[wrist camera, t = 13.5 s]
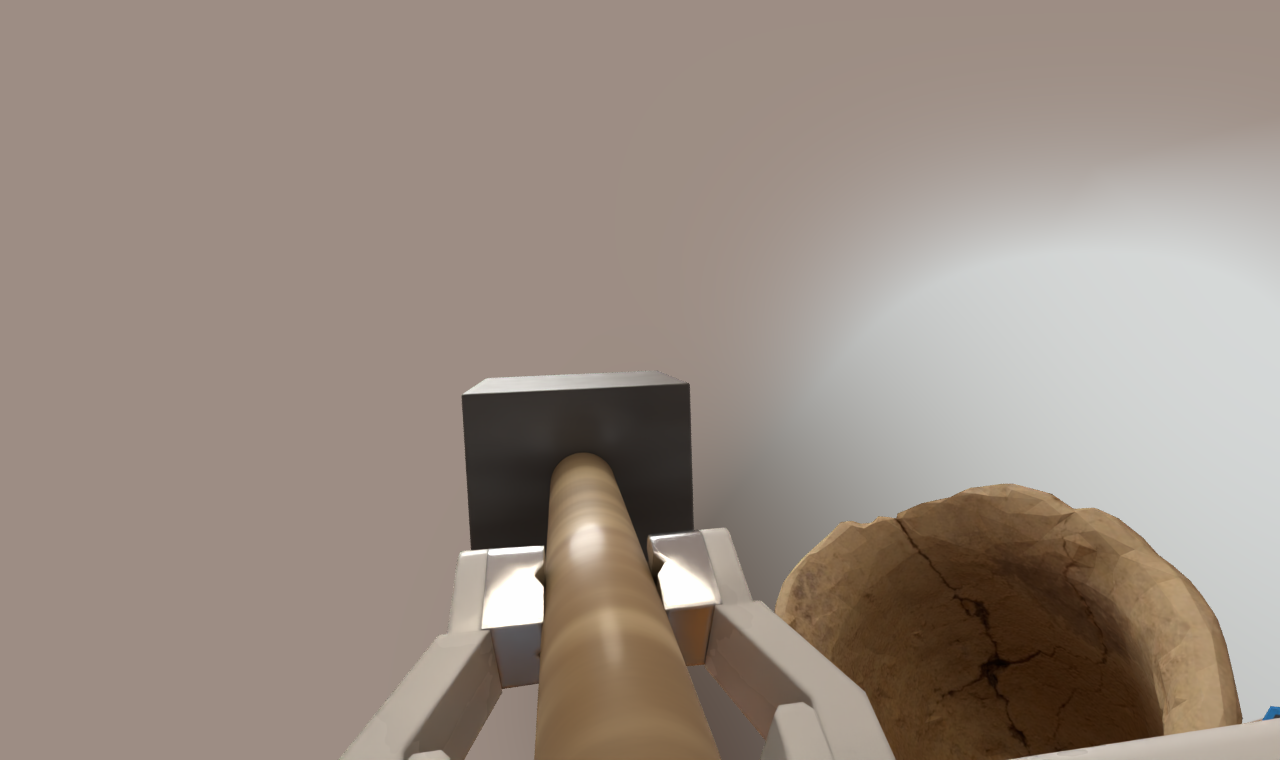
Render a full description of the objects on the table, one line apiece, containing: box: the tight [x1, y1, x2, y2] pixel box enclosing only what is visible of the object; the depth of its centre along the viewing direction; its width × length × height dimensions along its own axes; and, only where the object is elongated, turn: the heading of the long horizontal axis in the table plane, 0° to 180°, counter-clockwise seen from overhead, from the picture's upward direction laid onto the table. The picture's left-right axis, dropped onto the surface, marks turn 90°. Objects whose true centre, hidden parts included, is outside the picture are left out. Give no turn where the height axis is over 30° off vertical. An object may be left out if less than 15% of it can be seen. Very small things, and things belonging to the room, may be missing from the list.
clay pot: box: [774, 484, 1243, 760], centre depth 45 cm, size 27×28×25 cm
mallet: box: [462, 371, 722, 760], centre depth 14 cm, size 21×7×6 cm, turn 8°
